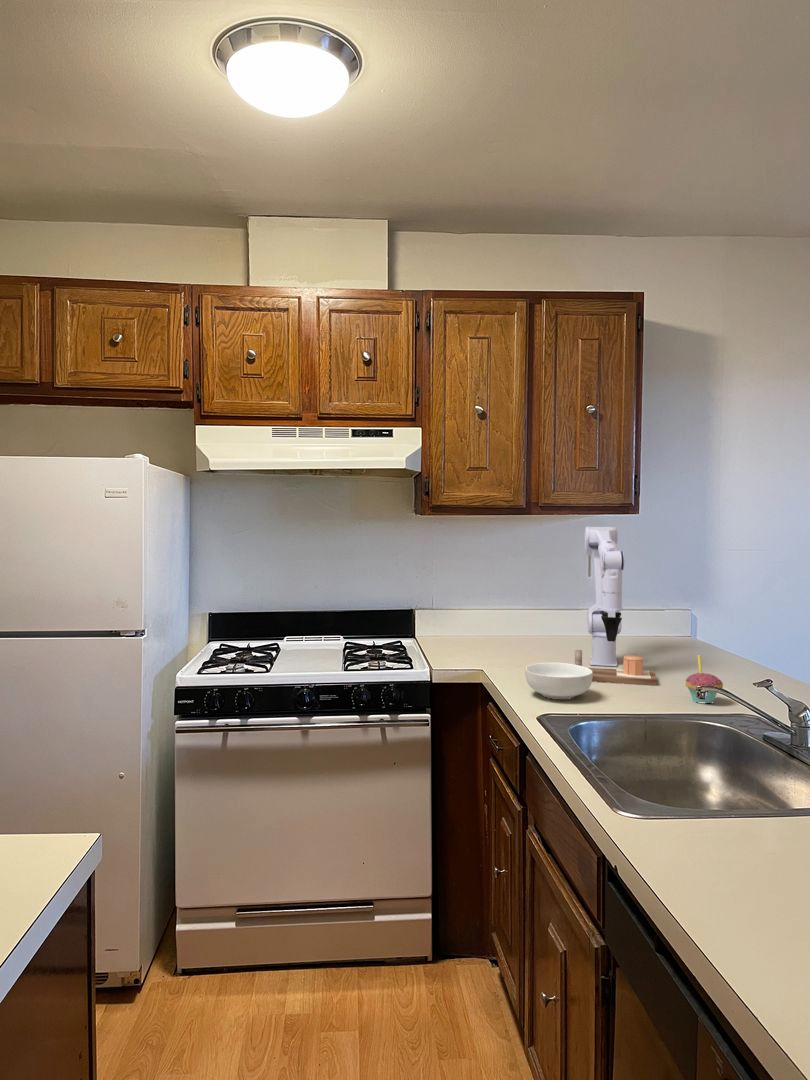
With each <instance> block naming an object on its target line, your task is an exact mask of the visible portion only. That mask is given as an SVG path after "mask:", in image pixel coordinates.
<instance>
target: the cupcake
mask: <svg viewBox="0 0 810 1080" xmlns="http://www.w3.org/2000/svg"><path fill="white" fill-rule="evenodd" d="M697 653H698V654H697V663H698V672H696V673H693V674H690V675H689V676H687V678H686V679H685V686H686V688H687V689H688V690H689V693H690V696H691V699H692V701H693V702H694V701H696V702H705V703H712V702H713V703H714V702H715V699H716V697H717V694H718V692H714V691H708V692H707V696H706V699H705V700H701V699H697V697H696V687H697V686H699V685H700V686H714V687H718V688H722V689H723V688H724V683H723V681H722V680H721V679H719V677H717V676H715V675H714V674H711V673H704V672H703V669H702V668H703V667H702V658H701V656H702V655H700V653H699V652H697ZM696 702H695V703H696ZM713 703H712V704H713Z"/></svg>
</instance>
